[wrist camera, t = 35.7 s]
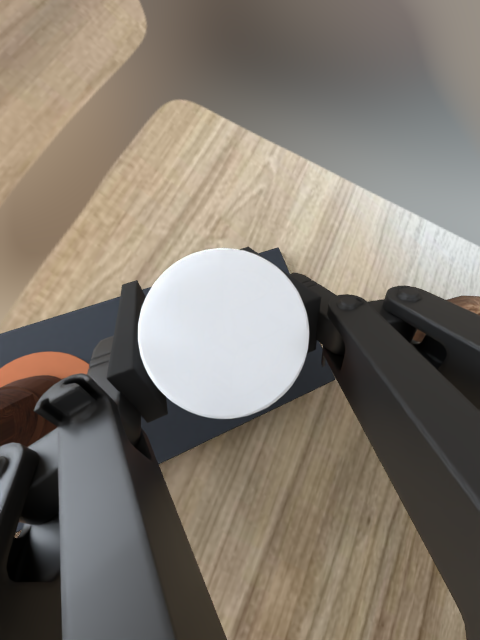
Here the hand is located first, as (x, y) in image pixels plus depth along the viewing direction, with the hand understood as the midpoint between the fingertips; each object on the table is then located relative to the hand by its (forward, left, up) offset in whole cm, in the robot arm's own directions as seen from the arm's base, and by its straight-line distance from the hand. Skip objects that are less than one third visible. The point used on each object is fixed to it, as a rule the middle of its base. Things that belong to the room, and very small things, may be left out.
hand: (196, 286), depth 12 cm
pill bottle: (-2, +3, -4) cm, 5 cm away
